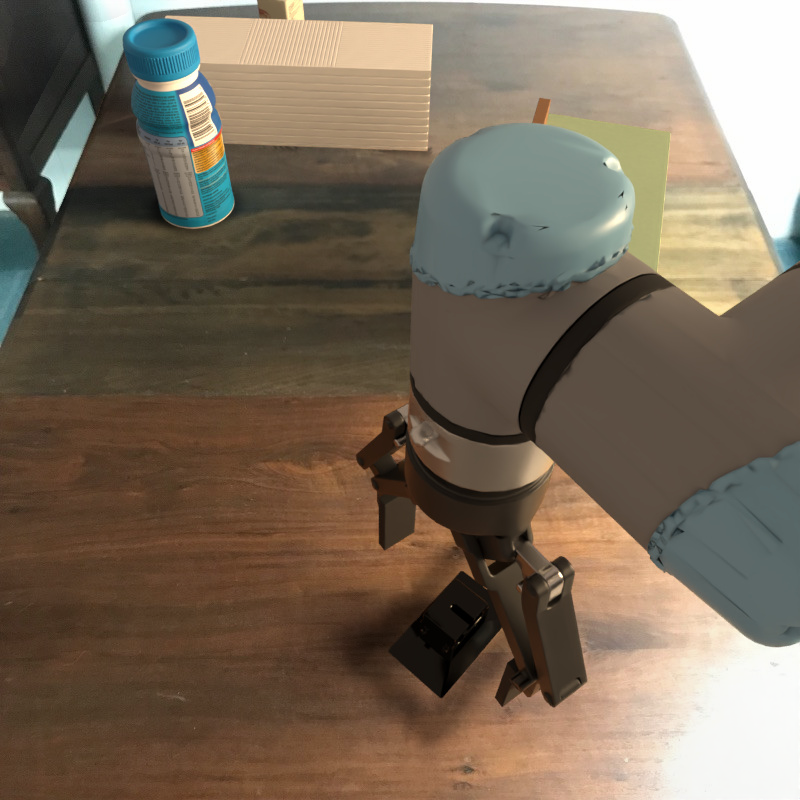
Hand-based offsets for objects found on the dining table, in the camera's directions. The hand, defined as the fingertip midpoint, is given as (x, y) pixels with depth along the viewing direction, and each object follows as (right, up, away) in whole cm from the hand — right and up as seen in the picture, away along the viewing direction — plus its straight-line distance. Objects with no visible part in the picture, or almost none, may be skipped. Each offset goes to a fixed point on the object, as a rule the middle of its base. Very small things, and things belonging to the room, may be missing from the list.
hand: (451, 609), depth 55 cm
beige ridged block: (-16, +49, +44) cm, 68 cm away
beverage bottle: (-26, +36, +33) cm, 56 cm away
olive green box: (+14, +29, +28) cm, 42 cm away
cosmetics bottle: (-19, +61, +53) cm, 83 cm away
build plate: (0, -3, +3) cm, 4 cm away
